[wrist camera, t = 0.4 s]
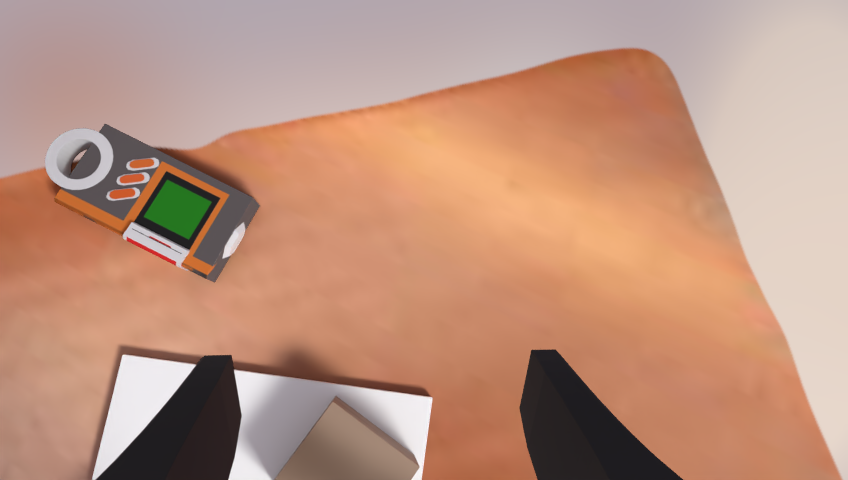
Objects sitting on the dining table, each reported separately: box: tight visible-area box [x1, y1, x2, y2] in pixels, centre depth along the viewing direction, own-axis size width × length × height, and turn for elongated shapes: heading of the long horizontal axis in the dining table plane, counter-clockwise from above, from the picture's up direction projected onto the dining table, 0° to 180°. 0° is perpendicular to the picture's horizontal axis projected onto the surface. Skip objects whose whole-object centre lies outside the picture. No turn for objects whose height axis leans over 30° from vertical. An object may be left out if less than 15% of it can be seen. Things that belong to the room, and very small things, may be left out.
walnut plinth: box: [274, 396, 420, 480], centre depth 37 cm, size 7×7×4 cm
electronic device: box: [45, 124, 260, 282], centre depth 40 cm, size 7×3×15 cm
